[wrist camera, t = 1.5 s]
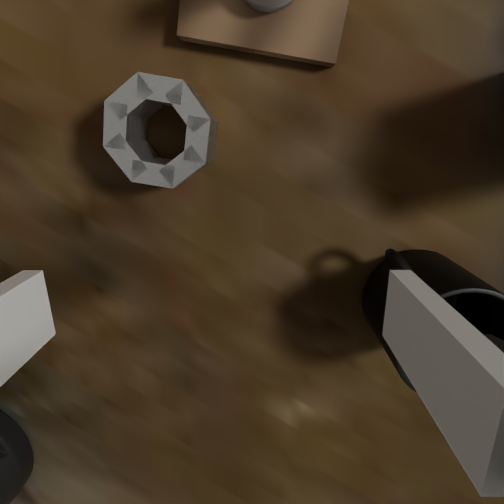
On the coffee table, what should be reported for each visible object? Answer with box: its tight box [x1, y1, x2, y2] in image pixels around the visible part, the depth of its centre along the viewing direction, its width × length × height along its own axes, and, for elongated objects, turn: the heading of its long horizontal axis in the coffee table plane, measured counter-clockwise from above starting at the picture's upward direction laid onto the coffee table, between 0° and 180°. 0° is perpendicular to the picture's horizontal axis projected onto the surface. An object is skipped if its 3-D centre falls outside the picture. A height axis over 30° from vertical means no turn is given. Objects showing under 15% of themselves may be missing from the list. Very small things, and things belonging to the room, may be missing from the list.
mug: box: [362, 248, 504, 392], centre depth 29 cm, size 9×12×9 cm
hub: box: [103, 72, 219, 189], centre depth 27 cm, size 7×7×5 cm
